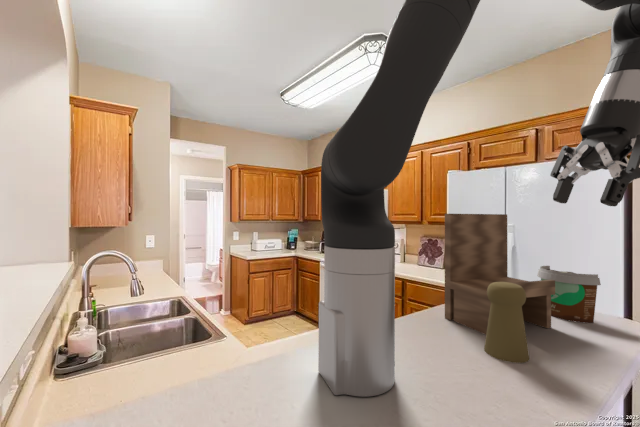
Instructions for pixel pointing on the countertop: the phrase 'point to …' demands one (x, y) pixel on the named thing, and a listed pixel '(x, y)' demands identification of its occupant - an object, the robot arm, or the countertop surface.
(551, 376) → the countertop surface
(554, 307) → the food container
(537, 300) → the wooden chair
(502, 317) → the cork
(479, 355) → the countertop surface
